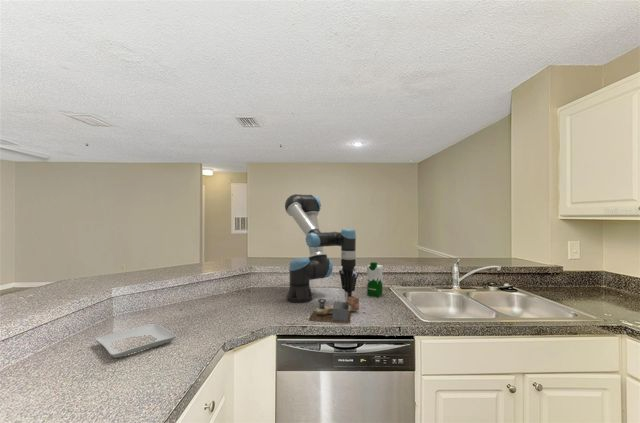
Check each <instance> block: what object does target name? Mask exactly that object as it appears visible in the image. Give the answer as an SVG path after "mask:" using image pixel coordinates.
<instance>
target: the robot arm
mask: <svg viewBox="0 0 640 423" xmlns="http://www.w3.org/2000/svg"><path fill="white" fill-rule="evenodd" d="M321 206H322V203H321V200H320V198H319V197H318V196H316V195H314V194H299V193H298V194H296V193H295V194H292V195H290V196H288V197H287V199H286V200H285V202H284V209H285V211H286V214H288V216H290V217H292V218H293V220H294V221H295V223H296V224H297V225H298V227H299V228H300V230H301V231H302V233H303V234H304V235H305V242H306V245H307V247H308V251H309V256H308V257H297V258H294V259H292V260H291V261H290V262H289V268H288V269H289V286H288V290H287V293H286V299H285V300H286V301H287V302H290V303H295V304H296V303H298V304H300V303H301V304H302V303H309V302H311V301H313V292H312V289H311V287H310V281H311V280H312V281H313V280H318V279H319V280H320V279H322V280H324V279H325V278H326V279H327V278H328V277H330V276H331V275H332V273H333V268H334V267H333V261H332V260H331V259H330V257H329V258H328V255H327V254H326V253H325V251H324V247H341V248H340V249H341V250H340V251H341V253H340V256H341V259H340V262H341V263H340V265H341V266H342V268H341V270H340V269H339V270H338V273H339V275H340V276H339V277H340V283H341V289H342V290H344V298H345V301H344V302H348V297H349V296H353V295H352V294H353V292H355V291H356V286H357V279H358V277H359V273H357V272H356V269H355V267H356V263H357V262H356V255H357V254H356V248H357V247H356V243H357V242H356V240H357V239H356V238H357V235H356V234H357V233H356V230H355V229H354V228H342V229H341V230H340V231H328V232H326V231H325V232H321V230H320V226H319V220H318V215H319V212H320V211H321Z"/></svg>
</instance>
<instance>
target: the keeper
mask: <svg viewBox="0 0 640 423" xmlns="http://www.w3.org/2000/svg"><path fill="white" fill-rule="evenodd" d="M317 303H319V304H318V307H319V308H325V306H326V305H325V304H326V303H327V299H325V298H319V299H317ZM332 306H333V313H330V314H325V315H319V314H317V310H313V311H312V312H311V314H310V316H309V318H308V321H309V322H324V323H339V324H340V323H341V324H351V318H352V312H351V311H349V302H345V301H344V302H343V301H334V303H333V305H332Z"/></svg>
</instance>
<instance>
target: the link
mask: <svg viewBox="0 0 640 423" xmlns="http://www.w3.org/2000/svg"><path fill="white" fill-rule="evenodd" d="M348 302H349V312H355V311H359V310H360V298H359V297H358V296H356V295H352V296H349V297H348ZM333 306H334V305H327V306H326V305H325V308H319V306H317V307H316V311H317V314H319V315H325V314H330V313H333Z"/></svg>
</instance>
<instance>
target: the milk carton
mask: <svg viewBox="0 0 640 423" xmlns="http://www.w3.org/2000/svg"><path fill="white" fill-rule="evenodd" d="M383 268H384V265H383V264H382V265H381V264H378V262H375V261H373V262H372V261H371V262H370V263H369V264H368V265H367V266H366V281H367V282H366V287H367V288H366V290H367V291H366V292H367V295H366V296H369V297H370V296H371V297H374V298H375V297H376V298H379V297H380V296H382V295H383Z"/></svg>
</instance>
